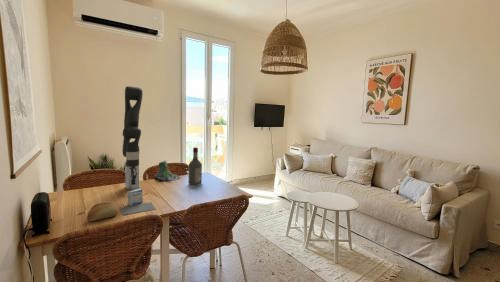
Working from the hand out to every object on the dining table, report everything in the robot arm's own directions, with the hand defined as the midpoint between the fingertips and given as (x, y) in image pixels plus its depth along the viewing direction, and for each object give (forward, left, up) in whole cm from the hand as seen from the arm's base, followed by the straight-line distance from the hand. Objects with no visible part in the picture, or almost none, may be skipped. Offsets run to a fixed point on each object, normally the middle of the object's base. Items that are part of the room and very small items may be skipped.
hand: (133, 184), depth 162 cm
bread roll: (+20, -19, -11) cm, 30 cm away
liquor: (-15, +49, -11) cm, 52 cm away
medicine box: (+7, 0, -11) cm, 13 cm away
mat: (+16, 0, -11) cm, 19 cm away
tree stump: (-40, +34, -11) cm, 54 cm away
